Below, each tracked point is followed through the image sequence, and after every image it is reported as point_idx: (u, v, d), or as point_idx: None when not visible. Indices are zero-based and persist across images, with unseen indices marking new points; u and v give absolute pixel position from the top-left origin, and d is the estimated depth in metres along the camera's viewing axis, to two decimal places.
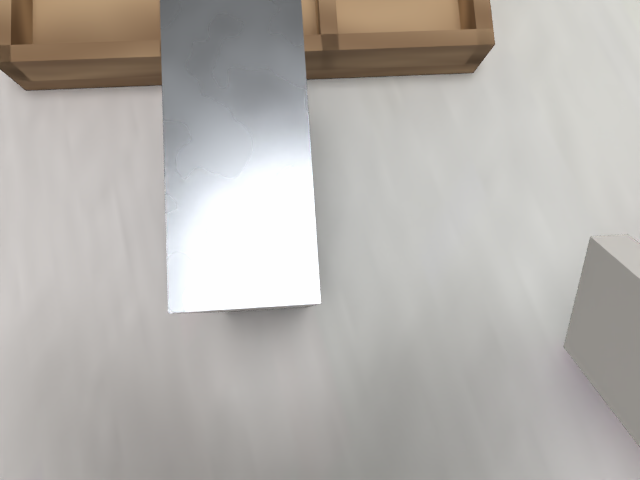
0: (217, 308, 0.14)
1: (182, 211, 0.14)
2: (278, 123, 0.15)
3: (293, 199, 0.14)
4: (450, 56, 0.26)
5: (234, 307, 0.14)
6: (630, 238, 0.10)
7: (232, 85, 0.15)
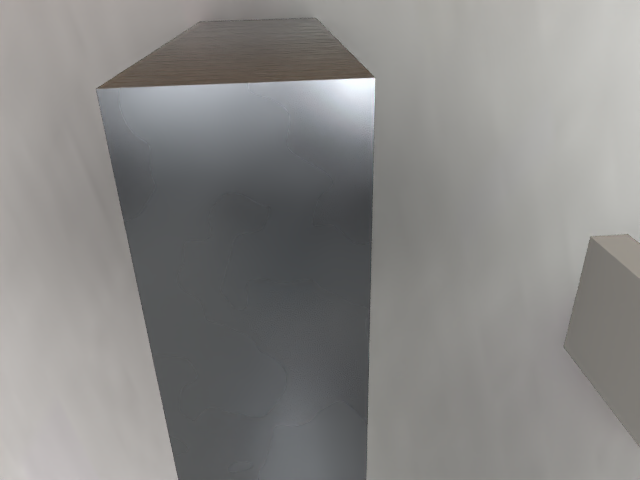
0: None
1: (195, 453, 0.11)
2: (324, 353, 0.10)
3: (339, 435, 0.11)
4: None
5: None
6: (630, 238, 0.10)
7: (253, 306, 0.09)
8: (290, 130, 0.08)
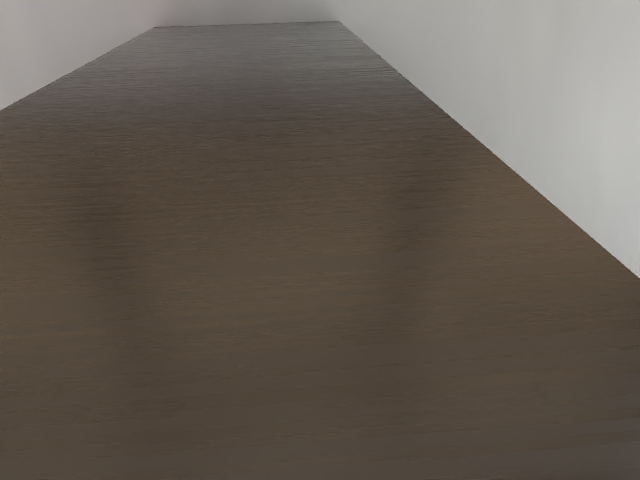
0: None
1: None
2: None
3: None
4: None
5: None
6: None
7: None
8: None
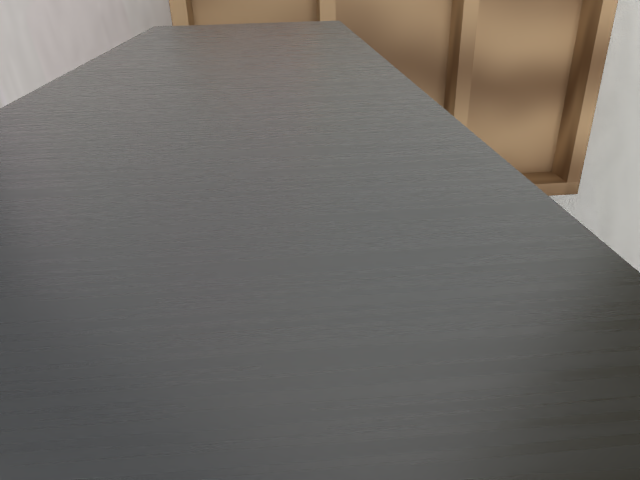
0: None
1: None
2: None
3: None
4: None
5: None
6: None
7: None
8: None
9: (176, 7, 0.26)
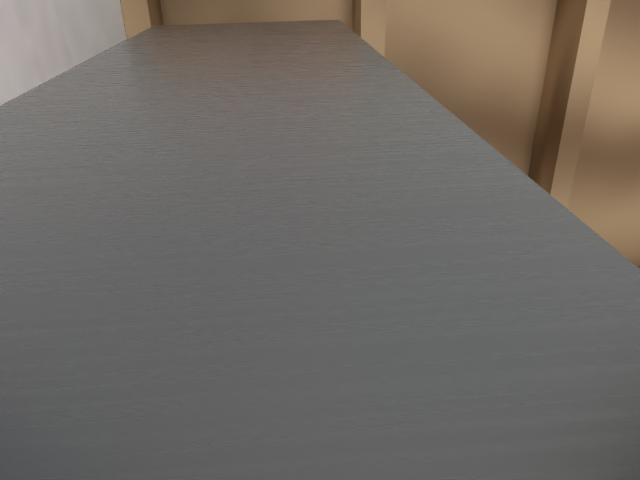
0: None
1: None
2: None
3: None
4: None
5: None
6: None
7: None
8: None
9: None
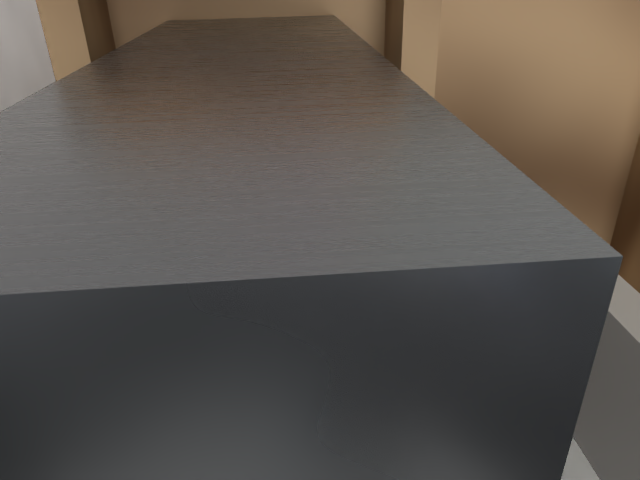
0: None
1: None
2: None
3: None
4: None
5: None
6: None
7: None
8: (330, 400, 0.03)
9: None
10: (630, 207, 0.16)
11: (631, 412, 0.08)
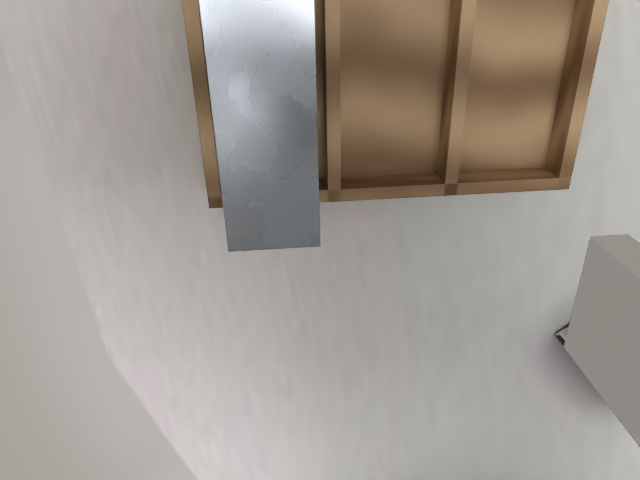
0: (257, 248, 0.23)
1: (232, 194, 0.22)
2: (296, 135, 0.21)
3: (304, 186, 0.22)
4: None
5: (268, 248, 0.23)
6: (630, 238, 0.10)
7: (262, 107, 0.20)
8: (278, 18, 0.19)
9: (189, 10, 0.27)
10: (446, 80, 0.32)
11: None
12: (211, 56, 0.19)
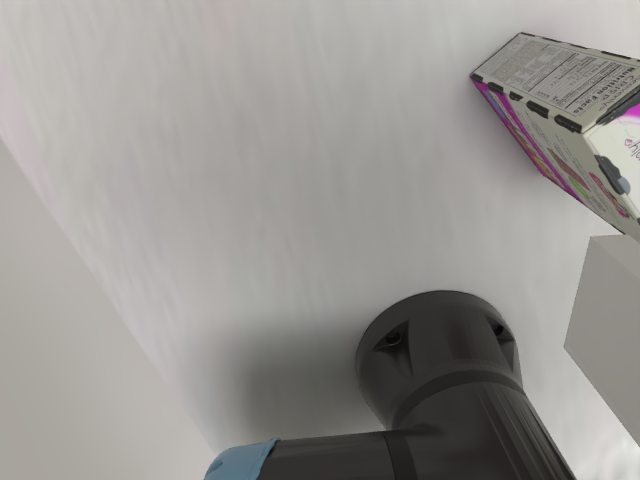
0: None
1: None
2: None
3: None
4: None
5: None
6: (630, 238, 0.10)
7: None
8: None
9: None
10: None
11: None
12: None
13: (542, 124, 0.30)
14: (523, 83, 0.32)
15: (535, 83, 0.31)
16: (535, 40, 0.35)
